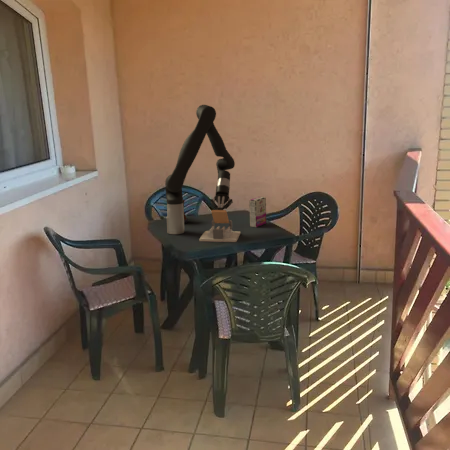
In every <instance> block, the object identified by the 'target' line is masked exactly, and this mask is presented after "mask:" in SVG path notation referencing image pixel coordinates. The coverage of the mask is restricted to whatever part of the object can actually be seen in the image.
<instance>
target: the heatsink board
mask: <svg viewBox="0 0 450 450" xmlns="http://www.w3.org/2000/svg"><path fill="white" fill-rule="evenodd" d="M215 224H216V223H215V222H214V219H212V220H211V228H210V229H209V230H205V231H204V232H203V233H202V235H200V238H198V239H199V242H215V243H216V242H217V243H218V242H221V243H223V242H225V243H237V241H238V240H239V238H240V235H241V231H234V230H233V220H231V219H229V223H228V224H229V226H228V227H227V228H226V226H222V228H221V226H220V225H217V227H216V228H215Z"/></svg>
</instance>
